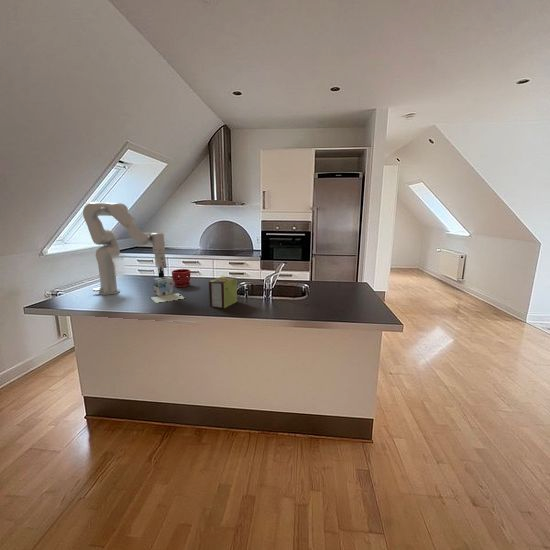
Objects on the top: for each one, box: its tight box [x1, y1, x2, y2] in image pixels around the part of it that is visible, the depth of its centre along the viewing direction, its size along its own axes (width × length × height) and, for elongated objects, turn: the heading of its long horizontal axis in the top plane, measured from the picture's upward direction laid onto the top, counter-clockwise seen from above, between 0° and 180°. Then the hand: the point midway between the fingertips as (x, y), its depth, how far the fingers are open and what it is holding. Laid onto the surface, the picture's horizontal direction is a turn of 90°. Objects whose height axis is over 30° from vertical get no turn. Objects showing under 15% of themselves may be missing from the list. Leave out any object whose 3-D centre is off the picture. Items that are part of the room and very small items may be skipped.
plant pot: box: [171, 268, 191, 288], centre depth 219 cm, size 13×13×12 cm
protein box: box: [208, 275, 238, 309], centre depth 177 cm, size 10×15×16 cm
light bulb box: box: [153, 276, 174, 296], centre depth 195 cm, size 11×7×11 cm, turn 143°
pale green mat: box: [150, 292, 185, 304], centre depth 188 cm, size 18×14×1 cm
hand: (161, 278), depth 198 cm, fingers closed
